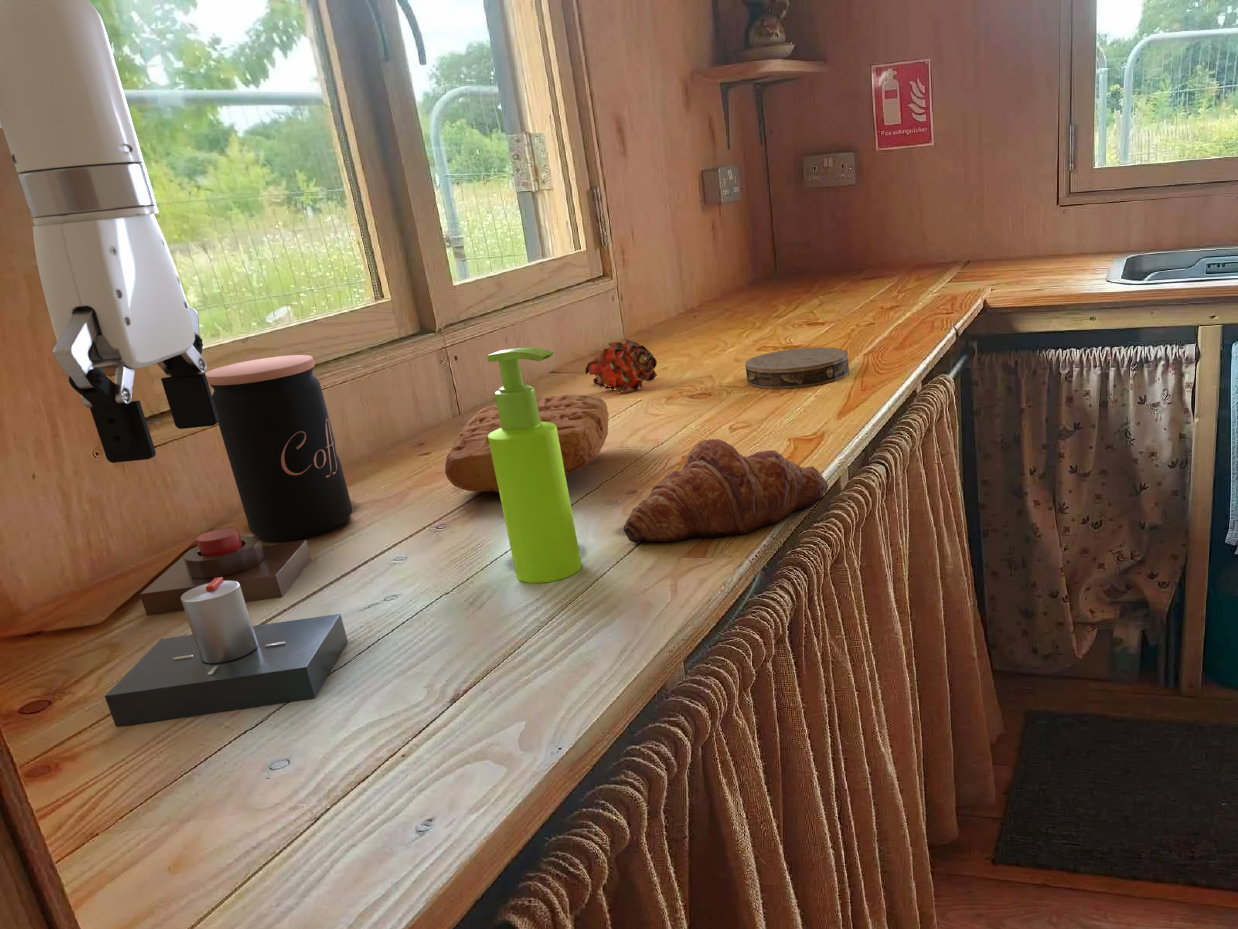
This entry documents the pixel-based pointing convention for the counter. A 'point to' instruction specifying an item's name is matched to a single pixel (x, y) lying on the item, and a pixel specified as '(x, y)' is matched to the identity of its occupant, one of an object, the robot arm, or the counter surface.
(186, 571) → the block
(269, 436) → the coffee jar
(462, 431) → the bread loaf
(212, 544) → the button
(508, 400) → the soap dispenser
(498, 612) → the counter surface
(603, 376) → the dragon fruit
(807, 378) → the tin can
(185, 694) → the panel
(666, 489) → the pastry
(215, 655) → the tap knob
